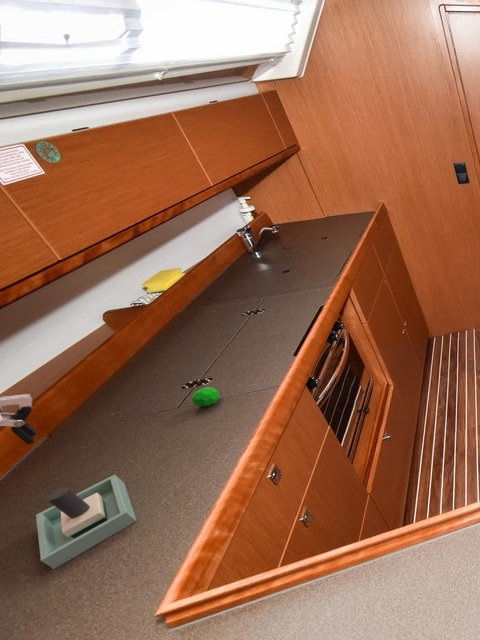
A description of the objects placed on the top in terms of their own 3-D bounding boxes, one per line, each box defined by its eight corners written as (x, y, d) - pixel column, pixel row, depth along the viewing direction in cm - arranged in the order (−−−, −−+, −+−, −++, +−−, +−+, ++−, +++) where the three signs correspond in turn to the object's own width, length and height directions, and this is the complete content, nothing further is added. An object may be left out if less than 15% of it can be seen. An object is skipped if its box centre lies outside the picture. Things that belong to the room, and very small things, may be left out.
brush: (70, 518, 82) (36, 493, 77) (106, 500, 85) (75, 474, 81) (72, 540, 78) (36, 515, 74) (109, 520, 81) (77, 494, 77)
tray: (47, 523, 82) (35, 514, 80) (124, 482, 89) (114, 474, 88) (53, 569, 74) (40, 560, 73) (136, 520, 82) (126, 512, 80)
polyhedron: (209, 396, 111) (199, 384, 109) (228, 395, 111) (218, 383, 109) (193, 411, 107) (182, 398, 104) (212, 410, 107) (201, 397, 104)
